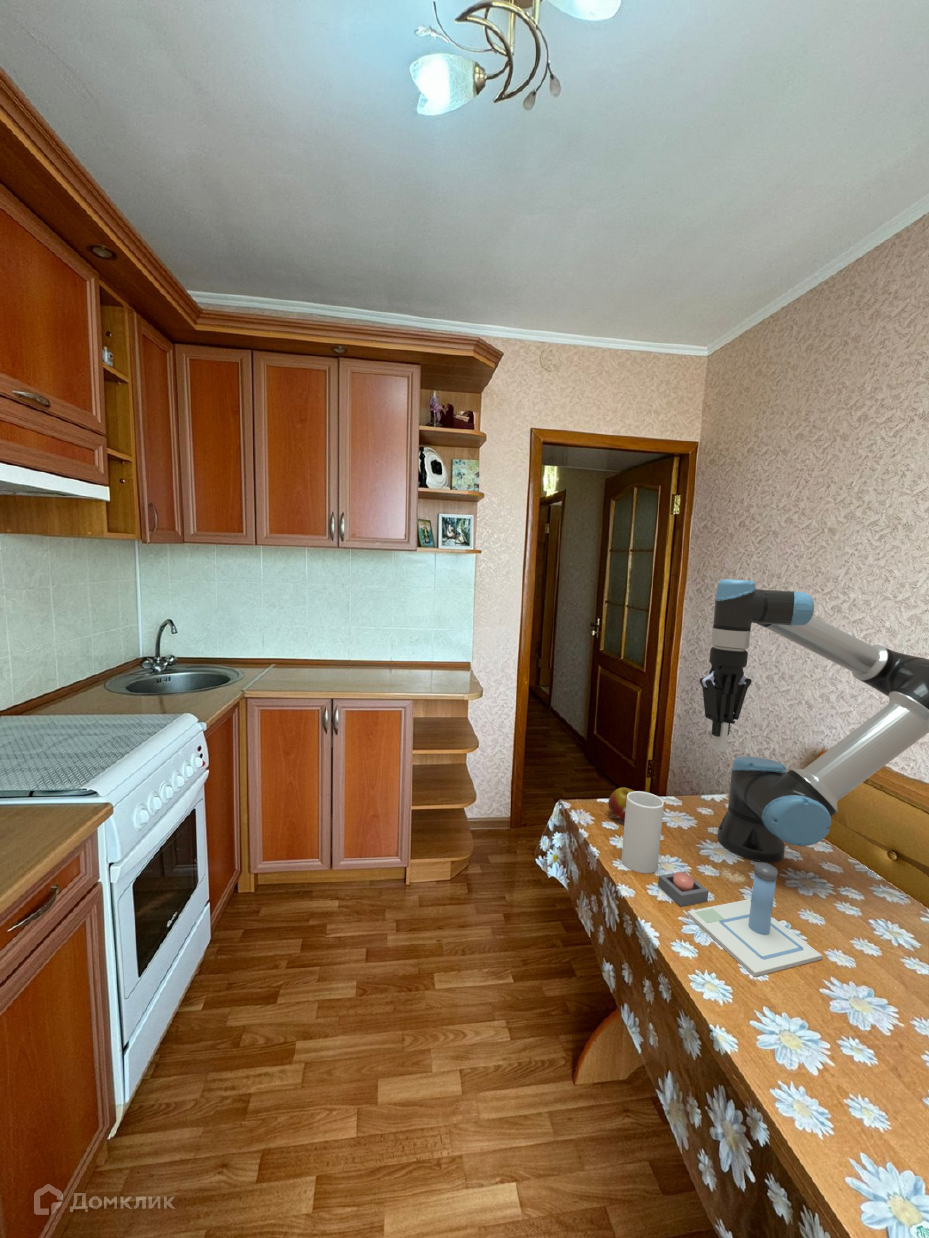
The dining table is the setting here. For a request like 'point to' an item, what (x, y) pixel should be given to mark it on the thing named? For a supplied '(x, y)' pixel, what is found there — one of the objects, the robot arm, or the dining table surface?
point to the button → (683, 881)
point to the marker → (762, 898)
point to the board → (753, 939)
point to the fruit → (619, 802)
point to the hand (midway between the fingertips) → (718, 749)
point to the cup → (642, 831)
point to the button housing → (686, 897)
